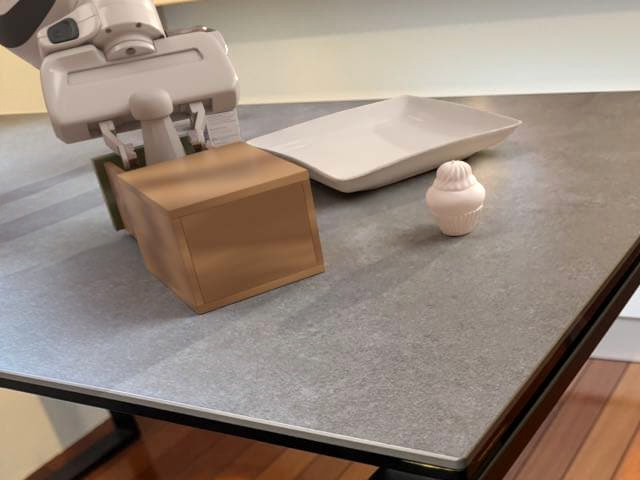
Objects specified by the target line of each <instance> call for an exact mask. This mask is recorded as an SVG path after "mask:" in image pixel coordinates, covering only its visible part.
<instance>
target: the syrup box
mask: <svg viewBox="0 0 640 480" xmlns="http://www.w3.org/2000/svg"><path fill="white" fill-rule="evenodd" d="M205 118H206V125H205V129H204V133H203V137H204V139H205V143H207V144H209V145H211V146H213V147H220V146H224V145H227V144H231V143H235V142H238V141H242V142H243V138H242V131H241V127H240V122H239V118H238V113H237V107H236V108H235V109H232V110H228V111H223V112H218V113H213V114H209V115H205Z"/></svg>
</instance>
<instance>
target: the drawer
mask: <svg viewBox="0 0 640 480" xmlns="http://www.w3.org/2000/svg"><path fill="white" fill-rule="evenodd" d="M178 137H179V139H180V141H181V143H182V146H183V148H184V150H185V153H186V155H191V154H193V152H192V149H191V147H190V144H189V141H188V133H182V134H178ZM133 147H134V151H135V153H136V156H137V159H138V164H139V166H138V167H133V168H129V169H125V167H124V164H123V161H122V158H121V156H119V155H118V154H116V153H115V152H114V151H112V152H110V153H106V154H102V155H99V156H95V157H90V162H91V165H92V168H93V172H94V174H95V177H96V180H97V183H98V185H99V189H100V192H101V195H102V197H103V201H104V203H105V206H106V209H107V212H108V215H109V218H110V220H111V224H112V226H113V229H114V230H115V231H116V232H119V231H122V230H123V231H124V230H125V231H126V232H128V233H129V234H130V235H131V236H132V237H134V238H135V239H136V240H137V238H136V235H135V231H134V228H133V225H132V222H131V219H130V216H129V213H128V210H127V207H126V204H125V201H124V198H123V195H122V192H121V189H120V186H119V183H118V180H117V176H116V175H117V174H121V173H124V172H128V171H132V170H135V169H139V168H143V167H146V159H145V150H144V144H141V145H137V146H133ZM213 148H216V147H213V146H211V145H209V144H207V143H206V150H209V149H213Z"/></svg>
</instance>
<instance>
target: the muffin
mask: <svg viewBox="0 0 640 480" xmlns="http://www.w3.org/2000/svg"><path fill="white" fill-rule="evenodd" d="M485 198H486V189H485V187H484V186H483V185H482V184H481V183H480V182H479V181H478V180H477V178H476V177H475V176H474V174H473V173H472V167H471V166H470V164H468V163H467V162H465V161H463V160H459V161H454V160H452V161H450V162H446V163H444V164H442V165H441V166H440V167H438V168H437V170H436V177H435V179H434V181H433V183H432V185H431V186H429V187H428V189H427V190H426V193H425V203H426V206H427V207H428V209H429V213H430V214H431V216H432V218H433V220H434V221H435V223H436V224H437V226H438V228H439V229H440V231H441V232H442V233H443V234H444V235H446V236H451V237H452V236H453V237H455V236H456V237H458V236H459V237H460V236H464V235H468V234H469V233H472V231H473V230H474V229H475V226H476V224H477V221H478V219H479V216H480V214H481V212H482V209H483V208H484V204H483V203H484V201H485Z"/></svg>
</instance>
